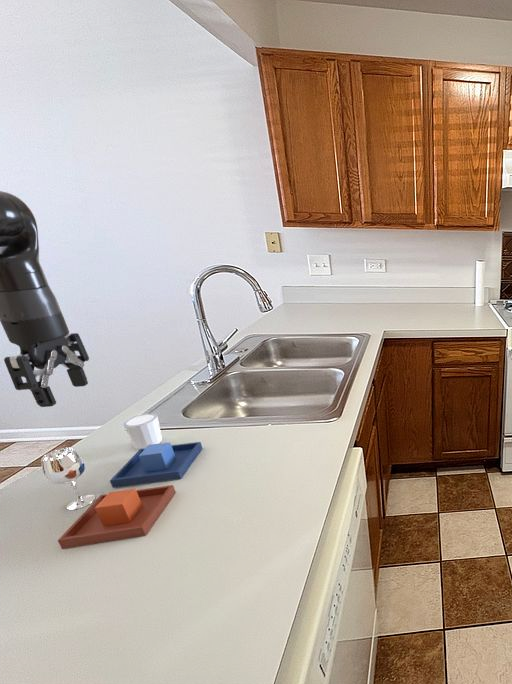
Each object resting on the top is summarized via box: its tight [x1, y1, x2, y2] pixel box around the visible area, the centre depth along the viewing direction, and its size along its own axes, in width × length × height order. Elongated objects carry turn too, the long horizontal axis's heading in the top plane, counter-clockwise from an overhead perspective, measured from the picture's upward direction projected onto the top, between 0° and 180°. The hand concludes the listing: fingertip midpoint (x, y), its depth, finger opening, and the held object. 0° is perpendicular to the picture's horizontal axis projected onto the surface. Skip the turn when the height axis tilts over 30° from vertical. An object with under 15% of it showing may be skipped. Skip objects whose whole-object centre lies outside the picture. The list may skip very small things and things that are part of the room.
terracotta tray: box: [57, 484, 177, 550], centre depth 78 cm, size 13×12×2 cm
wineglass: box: [40, 446, 97, 511], centre depth 80 cm, size 6×6×12 cm
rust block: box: [95, 488, 143, 526], centre depth 77 cm, size 4×4×4 cm
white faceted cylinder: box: [122, 412, 163, 450], centre depth 101 cm, size 7×7×7 cm
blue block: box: [139, 441, 176, 472], centre depth 92 cm, size 4×4×4 cm
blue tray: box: [109, 441, 203, 489], centre depth 93 cm, size 13×12×2 cm
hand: (65, 395), depth 76 cm, fingers open, 8 cm apart
